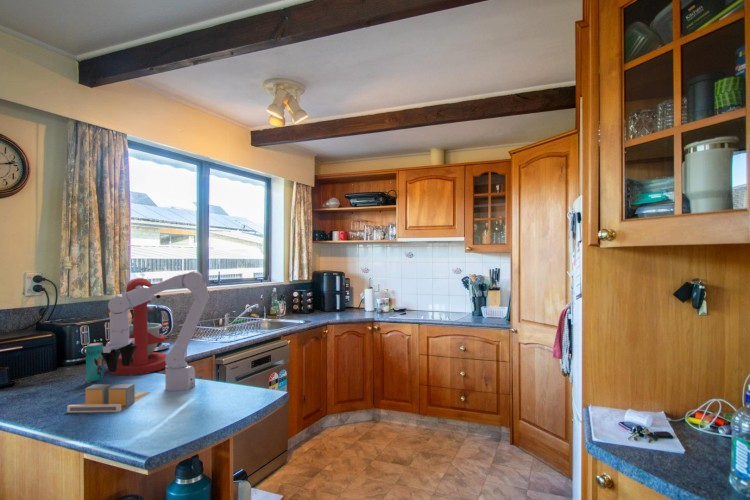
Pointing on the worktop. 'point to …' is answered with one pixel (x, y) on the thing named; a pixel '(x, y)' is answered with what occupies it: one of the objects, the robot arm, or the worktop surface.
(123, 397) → the faced box
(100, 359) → the beverage can
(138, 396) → the shelf board
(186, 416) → the worktop surface
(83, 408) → the rail
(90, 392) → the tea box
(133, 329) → the stand mixer
